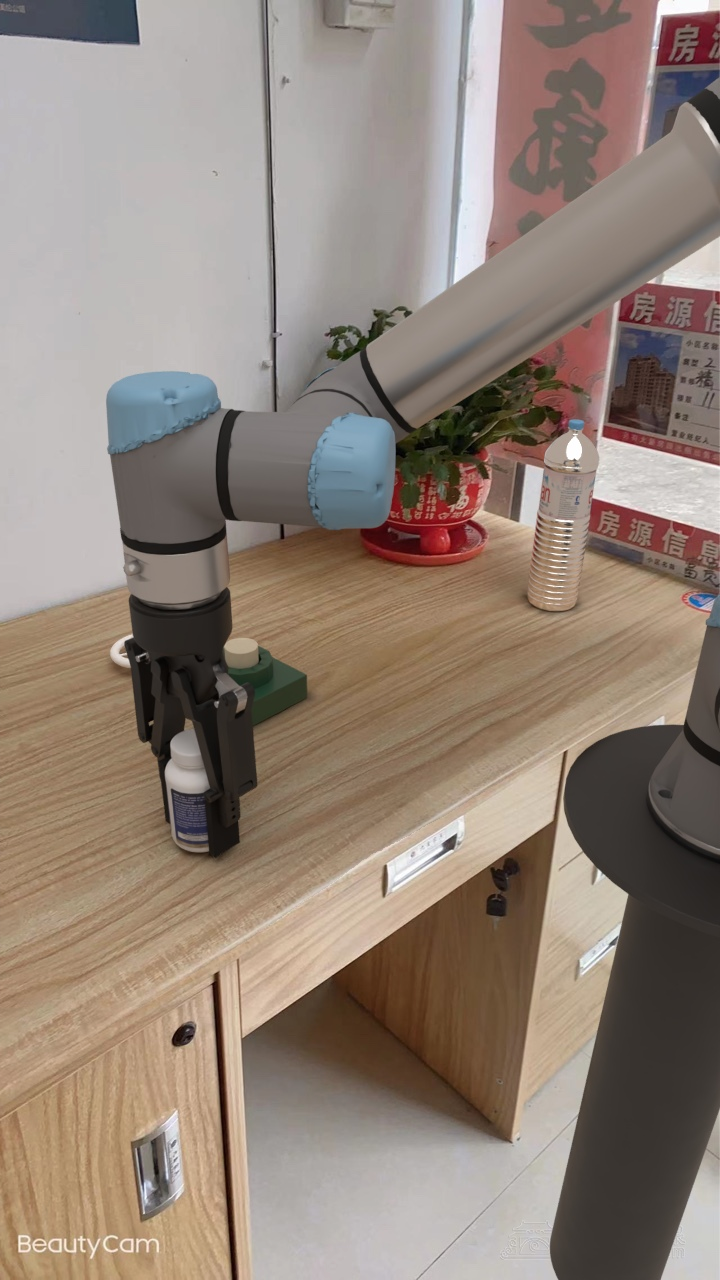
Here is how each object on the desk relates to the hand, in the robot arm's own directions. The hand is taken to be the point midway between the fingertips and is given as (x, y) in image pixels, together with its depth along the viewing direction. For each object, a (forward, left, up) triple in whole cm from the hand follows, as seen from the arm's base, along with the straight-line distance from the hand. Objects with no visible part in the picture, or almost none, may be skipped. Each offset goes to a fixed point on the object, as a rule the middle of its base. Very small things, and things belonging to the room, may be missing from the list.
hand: (202, 831), depth 77 cm
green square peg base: (+15, -18, -1) cm, 23 cm away
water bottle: (+4, -64, -1) cm, 64 cm away
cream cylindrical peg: (+15, -18, +4) cm, 24 cm away
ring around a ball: (+29, -15, -1) cm, 33 cm away
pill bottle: (0, 0, -1) cm, 1 cm away
